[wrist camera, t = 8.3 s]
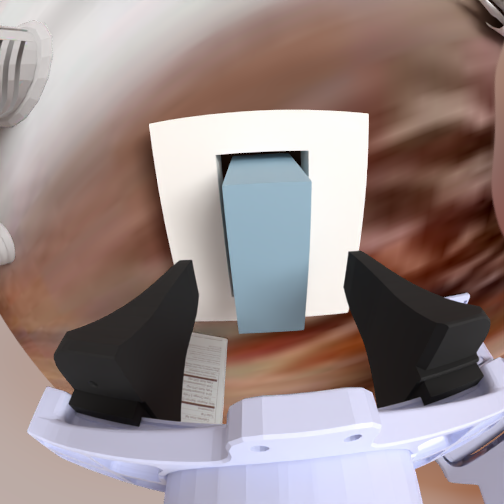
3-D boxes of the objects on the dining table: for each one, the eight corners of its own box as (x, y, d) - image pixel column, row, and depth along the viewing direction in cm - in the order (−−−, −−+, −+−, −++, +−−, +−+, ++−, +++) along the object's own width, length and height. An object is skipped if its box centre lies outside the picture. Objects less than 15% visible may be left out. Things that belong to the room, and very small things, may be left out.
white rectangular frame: (339, 292, 22) (347, 312, 20) (193, 300, 22) (188, 321, 20) (353, 112, 15) (368, 113, 13) (162, 121, 15) (149, 124, 13)
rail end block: (289, 262, 20) (303, 329, 14) (242, 264, 21) (238, 333, 14) (288, 153, 17) (311, 181, 10) (232, 155, 17) (222, 185, 10)
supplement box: (219, 379, 28) (211, 486, 17) (153, 366, 27) (128, 469, 16) (230, 336, 24) (222, 469, 13) (151, 321, 24) (110, 446, 13)
